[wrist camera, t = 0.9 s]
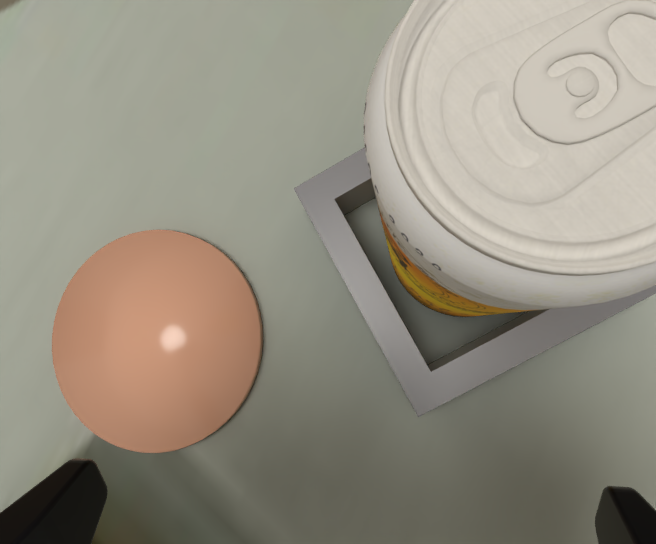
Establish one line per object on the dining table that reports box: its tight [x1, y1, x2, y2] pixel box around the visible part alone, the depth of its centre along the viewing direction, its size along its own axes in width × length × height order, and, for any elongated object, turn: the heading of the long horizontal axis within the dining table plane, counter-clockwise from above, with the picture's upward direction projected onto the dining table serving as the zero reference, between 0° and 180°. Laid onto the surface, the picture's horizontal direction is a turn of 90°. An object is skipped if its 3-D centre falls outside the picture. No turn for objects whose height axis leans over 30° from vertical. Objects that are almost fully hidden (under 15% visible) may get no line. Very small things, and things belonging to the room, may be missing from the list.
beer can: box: [364, 0, 656, 317], centre depth 14 cm, size 6×6×15 cm
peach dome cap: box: [52, 230, 263, 453], centre depth 23 cm, size 10×10×1 cm
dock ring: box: [294, 147, 656, 417], centre depth 20 cm, size 10×10×3 cm
